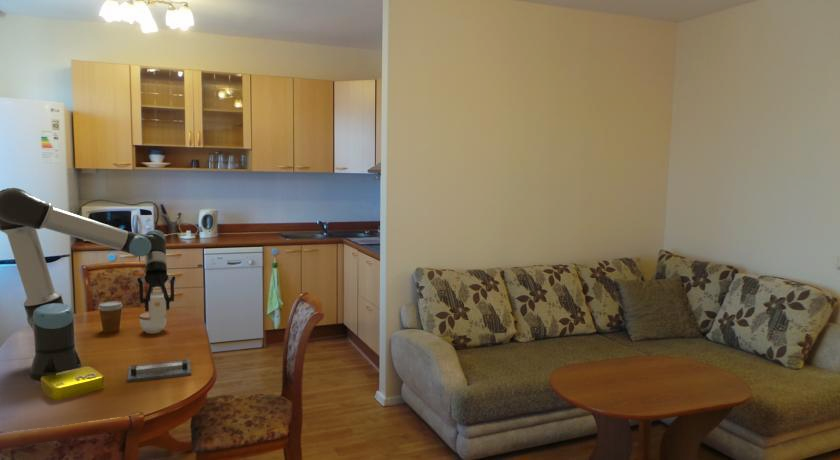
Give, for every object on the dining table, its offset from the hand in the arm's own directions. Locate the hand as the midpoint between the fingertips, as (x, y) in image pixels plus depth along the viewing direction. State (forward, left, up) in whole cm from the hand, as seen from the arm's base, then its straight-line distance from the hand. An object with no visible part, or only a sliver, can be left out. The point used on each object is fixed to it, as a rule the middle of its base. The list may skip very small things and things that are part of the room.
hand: (157, 317), depth 210 cm
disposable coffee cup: (+17, +51, -17) cm, 56 cm away
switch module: (+2, +3, -3) cm, 5 cm away
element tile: (-31, +3, -17) cm, 36 cm away
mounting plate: (-7, -9, -17) cm, 21 cm away
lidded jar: (+25, +34, -17) cm, 45 cm away
